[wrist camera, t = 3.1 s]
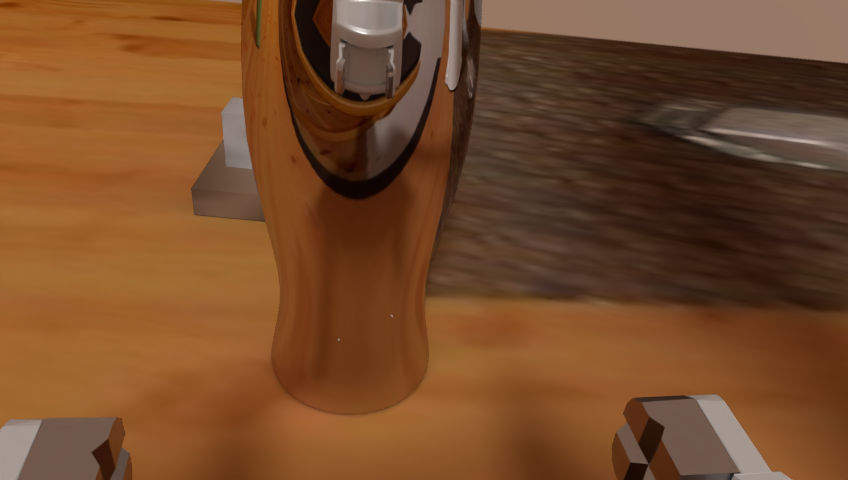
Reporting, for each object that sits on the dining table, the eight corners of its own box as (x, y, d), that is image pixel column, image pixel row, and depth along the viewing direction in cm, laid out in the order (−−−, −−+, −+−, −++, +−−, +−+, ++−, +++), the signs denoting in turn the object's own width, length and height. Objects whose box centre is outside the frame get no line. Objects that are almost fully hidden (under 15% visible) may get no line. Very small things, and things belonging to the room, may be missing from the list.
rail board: (440, 94, 50) (446, 33, 48) (433, 237, 34) (442, 156, 32) (277, 78, 50) (274, 16, 47) (194, 214, 34) (184, 132, 32)
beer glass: (227, 340, 27) (186, -71, 19) (370, 281, 31) (390, -80, 22) (324, 458, 23) (328, -5, 14) (475, 372, 27) (547, -30, 18)
